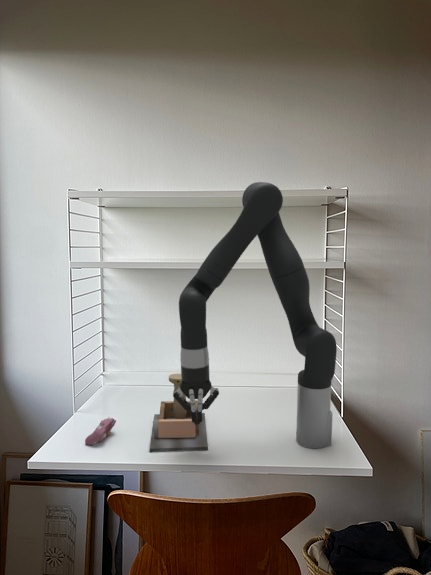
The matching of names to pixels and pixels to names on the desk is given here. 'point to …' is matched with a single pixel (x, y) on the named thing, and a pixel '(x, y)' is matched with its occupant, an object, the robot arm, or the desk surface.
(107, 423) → the mauve rounded lump
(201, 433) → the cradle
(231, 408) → the desk surface
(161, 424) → the gate
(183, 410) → the handle
